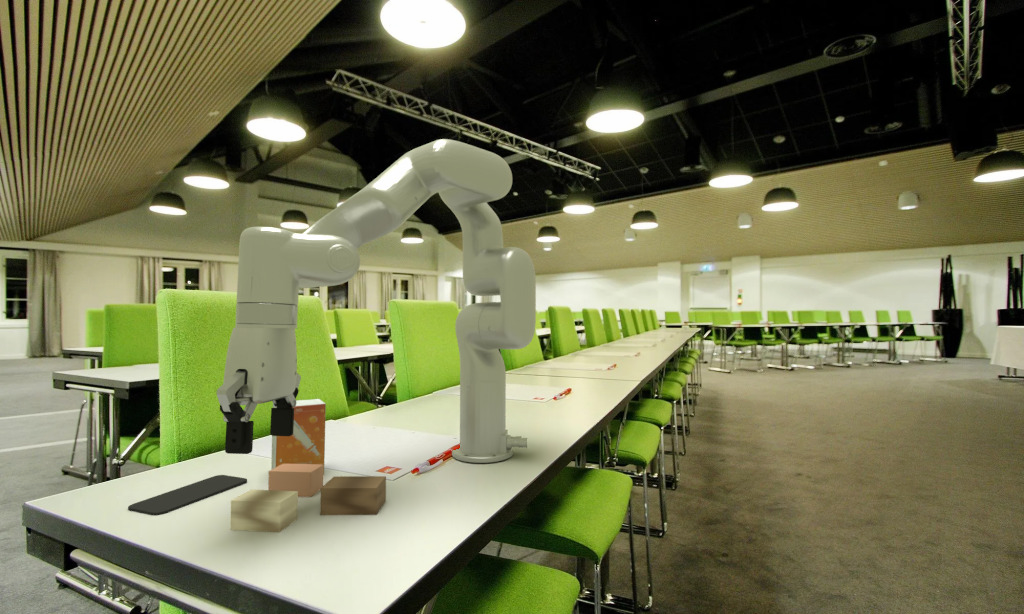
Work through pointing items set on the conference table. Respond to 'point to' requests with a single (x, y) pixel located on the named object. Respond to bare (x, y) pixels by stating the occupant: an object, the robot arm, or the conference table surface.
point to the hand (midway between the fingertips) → (261, 443)
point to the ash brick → (264, 510)
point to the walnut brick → (353, 495)
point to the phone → (187, 495)
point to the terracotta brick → (297, 478)
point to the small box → (302, 436)
